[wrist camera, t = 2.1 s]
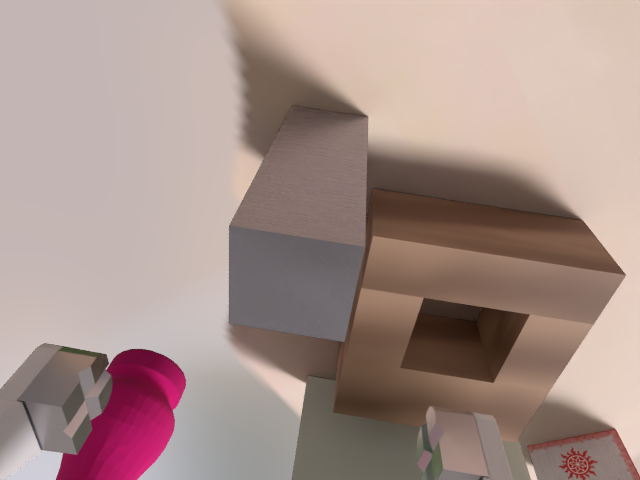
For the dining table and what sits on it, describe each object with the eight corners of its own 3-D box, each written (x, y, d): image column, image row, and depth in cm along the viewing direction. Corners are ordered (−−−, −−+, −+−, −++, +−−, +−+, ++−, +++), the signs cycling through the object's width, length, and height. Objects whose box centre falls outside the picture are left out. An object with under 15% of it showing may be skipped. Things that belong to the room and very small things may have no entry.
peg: (292, 105, 23) (228, 225, 13) (368, 116, 23) (365, 246, 13) (286, 174, 25) (228, 323, 15) (355, 185, 25) (344, 342, 15)
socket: (372, 188, 25) (373, 235, 21) (583, 220, 25) (626, 275, 20) (337, 353, 33) (333, 412, 28) (497, 379, 32) (515, 442, 28)
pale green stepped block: (314, 331, 31) (274, 593, 19) (534, 366, 31) (648, 656, 18) (306, 383, 35) (267, 636, 22) (504, 415, 35) (583, 690, 22)
